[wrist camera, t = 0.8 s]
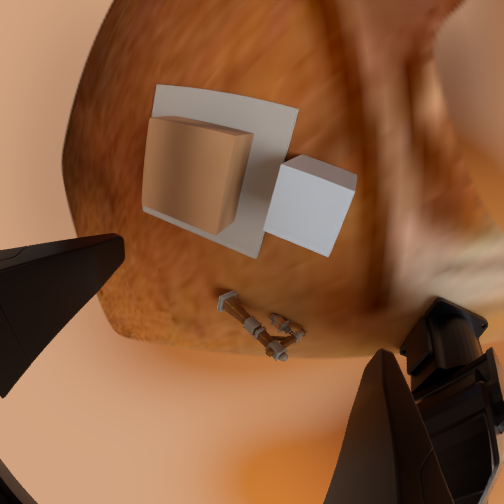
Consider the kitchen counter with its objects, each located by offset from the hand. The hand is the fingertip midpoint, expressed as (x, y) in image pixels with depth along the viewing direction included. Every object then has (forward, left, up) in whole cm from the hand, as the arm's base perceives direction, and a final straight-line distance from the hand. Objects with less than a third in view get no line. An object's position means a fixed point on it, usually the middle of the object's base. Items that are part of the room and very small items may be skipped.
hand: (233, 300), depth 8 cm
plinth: (+9, +1, -13) cm, 15 cm away
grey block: (0, 0, -13) cm, 13 cm away
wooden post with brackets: (+1, +12, -13) cm, 18 cm away
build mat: (+9, +1, -13) cm, 16 cm away
